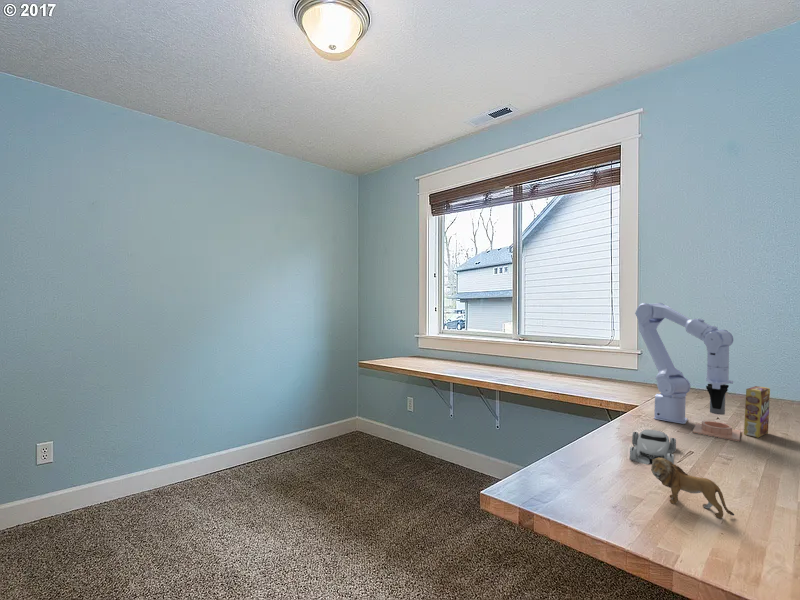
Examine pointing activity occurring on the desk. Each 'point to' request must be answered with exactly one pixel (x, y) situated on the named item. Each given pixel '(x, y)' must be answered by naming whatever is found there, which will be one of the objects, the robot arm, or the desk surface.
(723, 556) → the desk surface
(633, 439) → the car model
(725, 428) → the tube holder
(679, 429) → the desk surface
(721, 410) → the tube
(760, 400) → the candy box
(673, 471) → the lion figurine
